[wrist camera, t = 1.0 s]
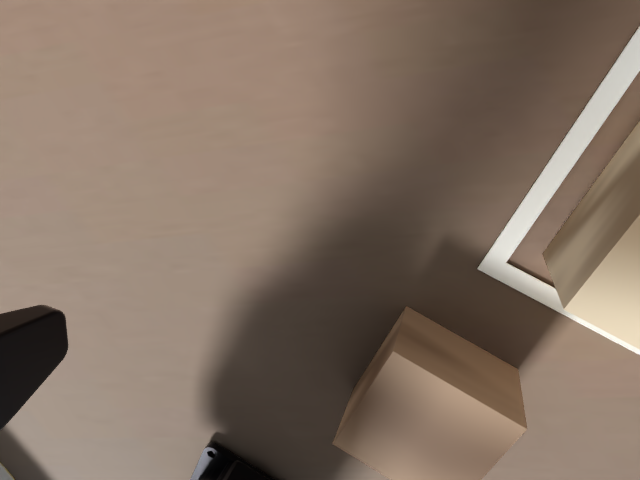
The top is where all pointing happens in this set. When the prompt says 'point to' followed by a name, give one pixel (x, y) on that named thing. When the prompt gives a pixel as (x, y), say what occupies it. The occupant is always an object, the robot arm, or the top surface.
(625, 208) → the maple block
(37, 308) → the robot arm
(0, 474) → the cereal box
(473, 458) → the light brown wooden block
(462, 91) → the top surface
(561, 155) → the blueprint lines
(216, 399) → the top surface
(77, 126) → the top surface
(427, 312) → the top surface
